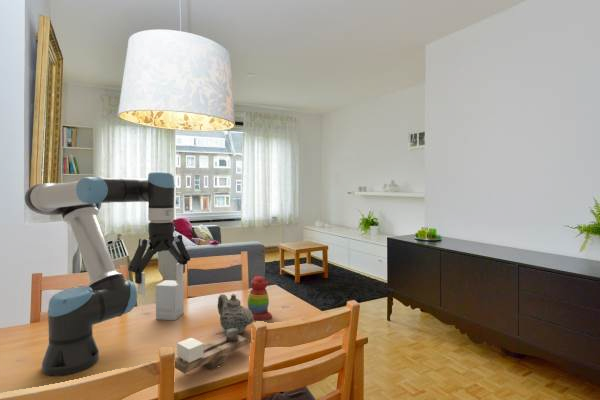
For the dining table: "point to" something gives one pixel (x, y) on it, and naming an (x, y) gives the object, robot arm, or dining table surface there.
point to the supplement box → (169, 300)
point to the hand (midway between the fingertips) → (161, 288)
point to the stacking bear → (259, 299)
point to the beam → (214, 352)
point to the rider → (190, 350)
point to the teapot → (233, 313)
